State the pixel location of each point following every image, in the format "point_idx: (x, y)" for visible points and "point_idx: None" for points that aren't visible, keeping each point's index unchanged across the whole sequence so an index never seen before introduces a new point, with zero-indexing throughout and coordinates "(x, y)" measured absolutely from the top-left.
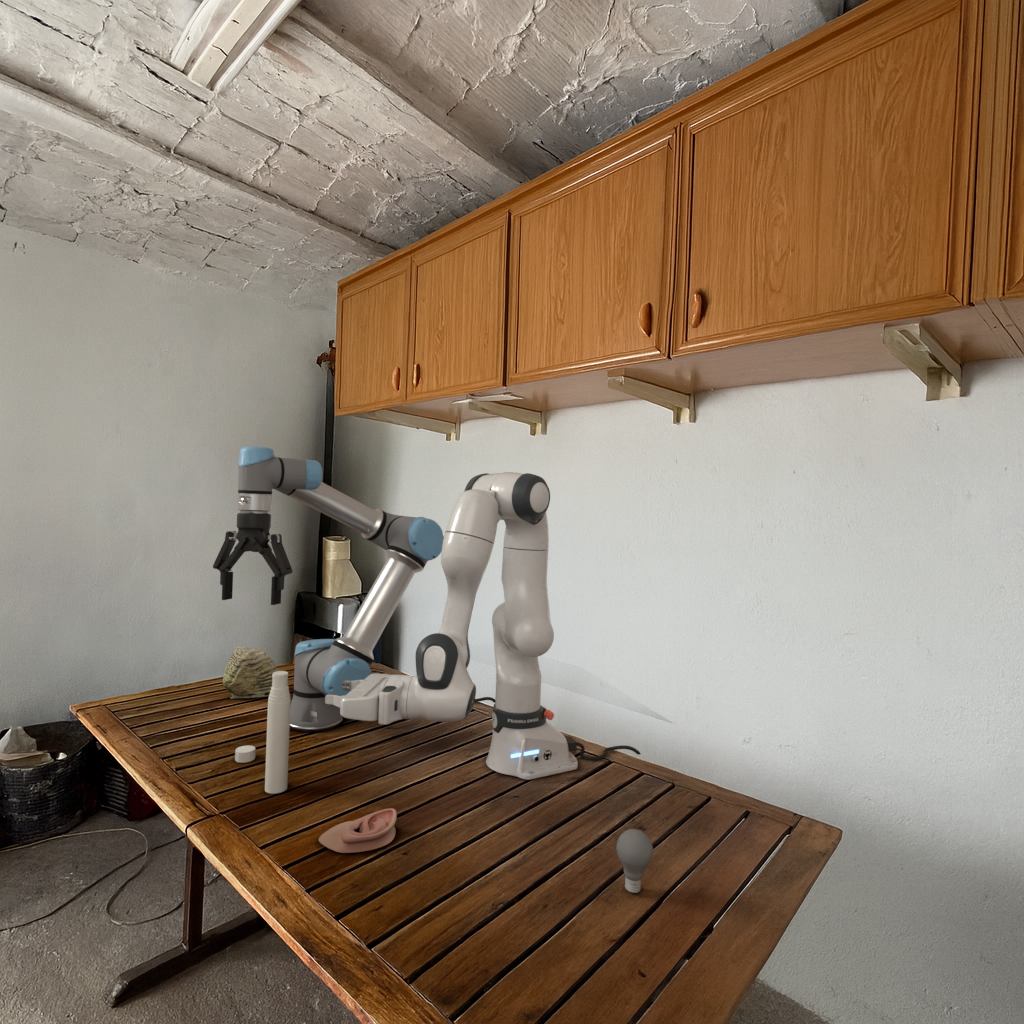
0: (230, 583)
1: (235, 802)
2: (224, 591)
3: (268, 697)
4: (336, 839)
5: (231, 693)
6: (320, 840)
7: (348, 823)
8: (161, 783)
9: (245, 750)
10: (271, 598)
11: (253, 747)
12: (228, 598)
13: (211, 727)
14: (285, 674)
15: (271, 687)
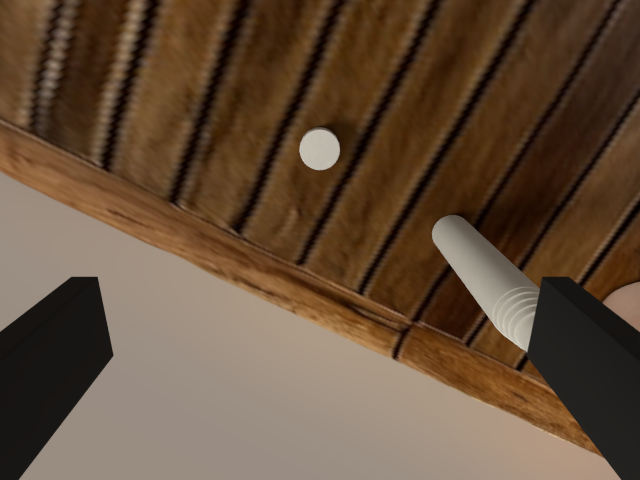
0: (14, 385)
1: (414, 290)
2: (74, 401)
3: (499, 330)
4: None
5: None
6: None
7: (635, 324)
8: (258, 279)
9: (325, 156)
10: (555, 387)
11: (330, 136)
12: (103, 320)
13: (111, 11)
14: None
15: (517, 343)
